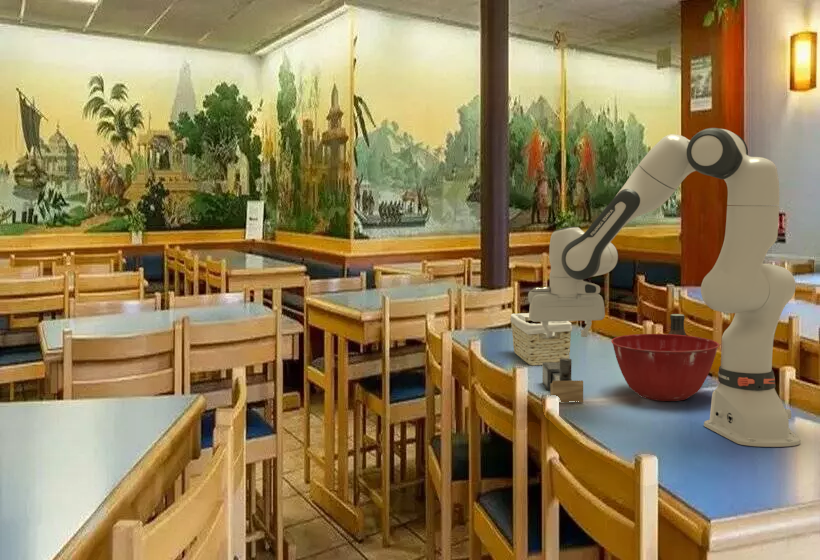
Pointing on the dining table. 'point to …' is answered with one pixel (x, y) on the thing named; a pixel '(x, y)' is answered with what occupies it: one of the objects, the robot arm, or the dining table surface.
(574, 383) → the brown wooden block
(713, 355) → the mixing bowl
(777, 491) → the dining table surface
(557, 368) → the sleeve
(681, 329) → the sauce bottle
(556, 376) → the dark grey upright block
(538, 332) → the storage basket
